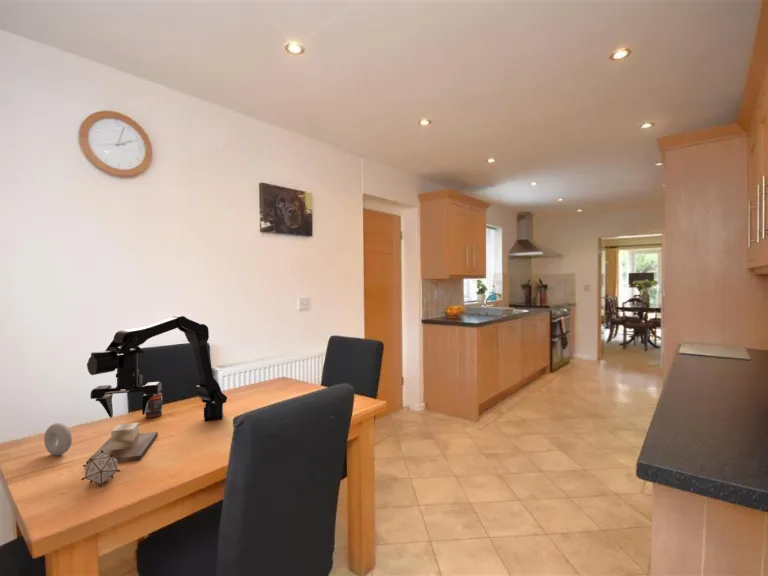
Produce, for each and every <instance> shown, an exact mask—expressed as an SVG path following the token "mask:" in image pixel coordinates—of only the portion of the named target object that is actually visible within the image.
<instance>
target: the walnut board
mask: <svg viewBox="0 0 768 576" xmlns="http://www.w3.org/2000/svg"><path fill="white" fill-rule="evenodd" d="M158 435H159V432H158V431H150V432H149V431H148V432H139V441H138V442H137V443H136V445H135V446H134V447H133V448H126V449H117V450H111V437H109V438H108V439H107V440H106V441H105V443H103V445H101V446H100V448H98V449H97V450H96V451H95V452H94V454H93V455H91V456H90V458H91V459H93V458H95V457H96V456H98V455H99V454H101V451H102V450H103V453H105V454H108V455H111V454H114V455H113V457H115V458H117V459H118V458H119V457H121V458H120V459H119V460H118V464H119V463H121V464H122V463H128V462H135V461H136V462H138V461H141V460H142V459H143V458H144V456H145V455H146V453H147V451H148V450H150V447H152V444H153V443H154V442H155V440H156V439H157V438H158ZM89 462H90V460H89V459H87V460H86V462H85V465H87V464H88V463H89Z"/></svg>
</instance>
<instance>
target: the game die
mask: <svg viewBox="0 0 768 576" xmlns="http://www.w3.org/2000/svg"><path fill="white" fill-rule="evenodd" d="M113 455H114V454H111V455H108V454H105V453H103V450H102V451H101V454H99V455H98V456H96V457H95V458H93V459H91V457H89V458H88V460H90V462H89V463H88V464H87V465H86V464H83V465H82V467H83V468H85V471H84V477H82V478H81V479H80V480H81V481H84V480H88V481H89V484H91V483H93V482H94V483H97V484H99V487H100V488H102V487H103V484H105V482H107V481H108V480H109V479H111V478H112V479H114V477H115V476H114V475H115V474H116V473H117V472H121V470H120V469H118V466H119V465H118V464H119V463H118V460H119V459H120V458H121V457H119V458H118V459H117V458H115V457H113Z"/></svg>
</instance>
